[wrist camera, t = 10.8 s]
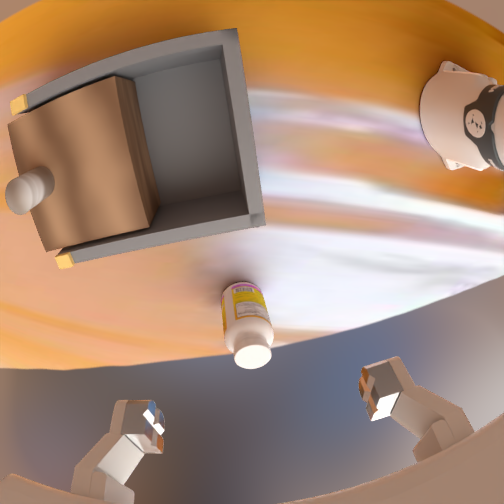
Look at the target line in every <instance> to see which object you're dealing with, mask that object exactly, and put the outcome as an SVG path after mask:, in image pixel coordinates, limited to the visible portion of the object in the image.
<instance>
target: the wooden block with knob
mask: <svg viewBox="0 0 504 504" xmlns="http://www.w3.org/2000/svg"><path fill="white" fill-rule="evenodd" d="M8 130H9V135H10V140H11V144H12V149H13V153H14V157H15V161H16V165H17V169H18V173H19V176H18V177H17V178H15V179H13V180H11V181H10V182H9V183H8V185H7V187H6V191H5V198H6V202H7V205H8V207H9V208H10V209H11V211H12V212H14V213H15V214H18V215H23V214H25V213H27V212H28V211H29V210H30V211H31V214H32V217H33V220H34V223H35V225H36V228H37V231H38V233H39V236H40V238H41V241H42V243H43V246H44V248H45V250H46V252H48V251H52V250H56V249H60V248H64V247H67V246H71V245H75V244H79V243H83V242H87V241H91V240H96V239H100V238H104V237H108V236H112V235H117V234H121V233H125V232H130V231H134V230H139V229H143V228H148V227H150V225H151V222H152V220H153V218H154V216H155V214H156V212H157V210H158V208H159V206H160V203H161V201H160V197H159V193H158V189H157V185H156V181H155V177H154V173H153V169H152V164H151V160H150V156H149V151H148V147H147V142H146V137H145V132H144V128H143V123H142V118H141V112H140V107H139V102H138V96H137V91H136V85H135V82H134V81H131V80H127V79H124V78H120V77H116V76H113V77H110V78H107V79H105V80H102V81H99V82H96V83H94V84H91V85H88V86H86V87H83V88H81V89H78V90H76V91H74V92H71V93H69V94H67V95H64V96H62V97H60V98H58V99H55V100H53V101H51V102H49V103H47V104H45V105H43V106H41V107H39V108H37V109H35V110H33V111H31V112H29V113H27V114H25V115H24V116H22V117H20V118H18V119H16V120H15V121H13V122H11V123H9V124H8Z"/></svg>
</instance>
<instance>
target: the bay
mask: <svg viewBox="0 0 504 504" xmlns="http://www.w3.org/2000/svg"><path fill="white" fill-rule="evenodd" d="M113 76H116V77H120V78H124V79H127V80H131V81H134V82H135V85H136V91H137V96H138V102H139V107H140V112H141V118H142V123H143V128H144V132H145V137H146V142H147V147H148V151H149V156H150V160H151V164H152V169H153V173H154V177H155V181H156V185H157V189H158V193H159V197H160V201H161V203H160V206H159V208H158V210H157V212H156V214H155V216H154V218H153V220H152V222H151V225H150V227H148V228H143V229H139V230H134V231H130V232H125V233H121V234H117V235H112V236H108V237H104V238H100V239H96V240H91V241H87V242H83V243H79V244H75V245H71V246H67V247H64V248H63V249H62V250H61V251H60V252H59V253H58V255H56V256H55V259H56V261H57V264H58V266H59V268H60V269H64V268H69V267H73V266H74V264H75V263H79V262H84V261H88V260H93V259H97V258H102V257H107V256H111V255H116V254H121V253H126V252H130V251H135V250H140V249H145V248H150V247H155V246H160V245H165V244H170V243H175V242H180V241H185V240H190V239H195V238H200V237H205V236H211V235H216V234H221V233H226V232H232V231H237V230H243V229H248V228H254V227H259V226H265V225H266V222H265V214H264V207H263V200H262V192H261V185H260V178H259V170H258V163H257V156H256V149H255V142H254V135H253V129H252V122H251V115H250V108H249V102H248V95H247V89H246V82H245V76H244V69H243V63H242V57H241V50H240V44H239V38H238V32H237V28H233V29H225V30H218V31H212V32H205V33H200V34H194V35H189V36H184V37H179V38H175V39H170V40H166V41H162V42H158V43H154V44H150V45H147V46H143V47H140V48H136V49H133V50H130V51H126V52H123V53H120V54H117V55H114V56H111V57H109V58H106V59H103V60H100V61H98V62H95V63H92V64H90V65H87V66H85V67H82V68H80V69H78V70H75V71H73V72H71V73H68V74H66V75H64V76H62V77H60V78H57V79H55V80H53V81H51V82H49V83H47V84H45V85H43V86H41V87H39V88H37V89H36V90H34V91H32V92H30V93H28V94H23V95H21V96H19V97H18V98H16V99H14V100H13V101H11V102H10V105H11V112H12V115H16V114H21V113H28V112H31V111H33V110H35V109H37V108H39V107H41V106H43V105H45V104H47V103H49V102H51V101H53V100H55V99H58V98H60V97H62V96H64V95H67V94H69V93H71V92H74V91H76V90H78V89H81V88H83V87H86V86H88V85H91V84H94V83H96V82H99V81H102V80H105V79H107V78H110V77H113Z"/></svg>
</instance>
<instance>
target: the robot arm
mask: <svg viewBox="0 0 504 504" xmlns="http://www.w3.org/2000/svg"><path fill="white" fill-rule="evenodd" d="M420 119H421V124H422V128H423V131H424V134H425V136H426V139H427V140H428V142H429V144H430V145H431V146H432V148H433V149H434V150H435V151H436V152H437V153H439V155H440V156H441V157H442V160H443V162H444V164H445V166H446V168H447V169H450V170H455V169H458V168H461V167H464V166H467V167H470V168H473V169H476V170H479V171H482V170H483V169H486V168H488V167H490V166H493V167H495V168H497V169H499V170H501V171H504V85H497V80H495V79H493V78H490V77H487V76H486V75H484V74H479V73H472V72H469V71H467V70H466V69H464V68H462V67H460V66H458V65H456V64H454V63H452V62H450V61H443V62H442V64H441V66H440V68H439V71H438V73H437V74H436V75H435V76H433V77H432V78H431V79H430V80H429V81H428V82H427V84H426V86H425V88H424V90H423V93H422V96H421V101H420ZM361 374H362V377H361V378H360V379H359V391H360V395H361V397H362V400H364V401H365V402H367V406H366V410H367V413H368V415H369V418H370V420H371V421H373V420H377V419H380V418H383V417H386V416H389V415H390V417H392V418H393V419H394V420H396V421H397V422H398V423H400V424H401V425H402V426H404V427H405V428H406V429H408V430H409V431H410V432H412V433H413V434H415V435H416V436H417V437H418V438H420V439H421V440H420V441H419V442H418V444H417V445H416V446H415V447H414V449H413V453H414V456H415V458H416V460H417V463H416V464H414V465H411V466H409V467H406V468H404V469H401V470H399V471H397V472H394V473H391V474H389V475H386V476H384V477H381V478H378V479H375V480H372V481H370V482H367V483H363V484H361V485H357V486H354V487H351V488H348V489H344V490H340V491H337V492H333V493H329V494H325V495H320V496H316V497H312V498H307V499H302V500H297V501H292V502H285V503H280V504H504V413H503V414H501V415H500V416H498V417H497V418H495V419H494V420H493V421H491V422H490V423H488V424H487V425H485V426H484V427H482V428H480V429H479V430H477V431H476V432H474V430H473V428H472V426H471V424H470V422H469V421H468V419H467V417H466V415H465V413H464V412H463V410H462V408H460V407H458V406H456V405H454V404H452V403H451V402H449V401H447V400H445V399H443V398H442V397H440V396H438V395H436V394H434V393H432V392H430V391H429V390H427V389H425V388H423V387H421V386H419V385H418V386H416V385H415V384H414V382H413V380H412V378H411V377H410V375H409V373H408V371H407V369H406V368H405V366H404V364H403V363H402V361H401V359H400V358H399V357H393V358H390V359H387V360H383V361H380V362H377V363H374V364H370V365H368V366H364V367H363V368H362V370H361ZM164 430H165V422H164V417H163V414H162V412H161V411H160V410H159V409H157V408H156V404H155V403H154V401H153V400H118V401H117V402H116V404H115V407H114V412H113V417H112V421H111V426H110V431H109V433H107V434H105V435H104V436H103V437H102V438H101V440H100V441H99V442H98V443H97V444H96V445H95V446H94V447H93V448H92V449H91V450H90V451H89V452H88V454H87V455H86V456H85V457H84V458H83V459H82V460H81V461H80V462H79V463H78V464H77V465H76V466H75V470H74V475H73V481H72V486H71V492H70V493H69V492H66V491H62V490H59V489H55V488H52V487H48V486H46V485H43V484H40V483H37V482H34V481H31V480H29V479H26V478H23V477H21V476H18V475H16V474H9V475H8V476H6V477H4V478H3V479H2V480H1V481H0V504H134V492H133V491H132V490H131V489H129V488H127V487H126V486H124V483H125V482H126V480H127V479H128V477H129V476H130V474H131V473H132V471H133V470H134V469H135V467H136V466H137V464H138V463H139V461H140V460H141V458H142V457H143V455H144V453H163V443H164V439H163V438H162V436H161V434H162V433H163V432H164Z"/></svg>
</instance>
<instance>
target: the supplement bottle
mask: <svg viewBox="0 0 504 504" xmlns="http://www.w3.org/2000/svg"><path fill="white" fill-rule="evenodd" d="M221 308H222V318H223V329H224V339H225V344H226V346H227V348H228V349H229V350H230V351H231V352H232V353H233V354H234V359H235V362H236V364H237V365H239V366H240V367H243V368H247V369H254V368H258V367H261V366H263V365H265V364H266V363H267V362H268V361H269V360H270V358H271V350H270V345H271V344H272V342H273V337H274V333H273V329H272V325H271V322H270V319H269V315H268V312H267V308H266V305H265V301H264V298H263V295H262V292H261V290H260V289H259V288H258V287H257V286H255V285H254V284H251V283H248V282H239V283H235V284H233V285H231V286H229V287H228V288H227V289H226V290H225V291H224V292H223V294H222V297H221Z"/></svg>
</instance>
